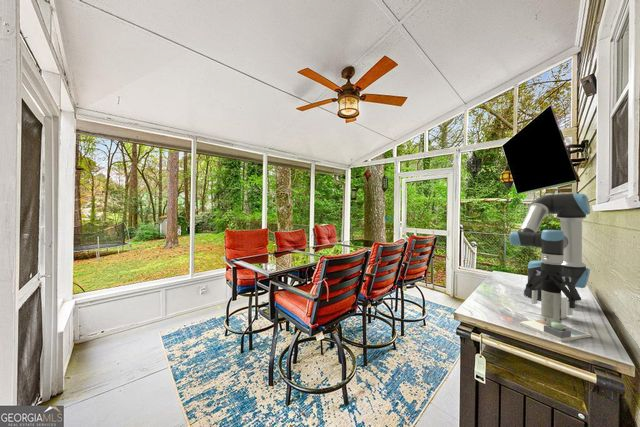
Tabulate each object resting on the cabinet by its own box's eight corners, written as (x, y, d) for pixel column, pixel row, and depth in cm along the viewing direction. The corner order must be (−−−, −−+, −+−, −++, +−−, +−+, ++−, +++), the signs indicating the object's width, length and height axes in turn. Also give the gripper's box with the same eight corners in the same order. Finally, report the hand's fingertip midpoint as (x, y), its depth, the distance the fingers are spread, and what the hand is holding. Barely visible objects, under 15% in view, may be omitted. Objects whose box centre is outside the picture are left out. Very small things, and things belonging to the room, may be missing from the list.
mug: (540, 316, 123) (540, 295, 123) (545, 310, 131) (545, 290, 131) (564, 322, 117) (564, 300, 117) (567, 316, 124) (568, 295, 124)
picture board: (546, 320, 118) (547, 313, 118) (591, 336, 103) (591, 328, 103) (519, 324, 113) (519, 316, 113) (561, 341, 98) (561, 332, 98)
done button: (554, 328, 104) (555, 321, 104) (565, 332, 101) (565, 325, 101) (549, 329, 103) (549, 322, 103) (559, 333, 100) (559, 325, 100)
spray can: (564, 327, 108) (565, 282, 108) (544, 324, 111) (545, 281, 111) (556, 321, 114) (556, 279, 114) (537, 319, 117) (538, 277, 117)
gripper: (517, 258, 124) (516, 300, 123) (581, 269, 100) (580, 321, 99) (528, 258, 126) (527, 299, 125) (593, 268, 101) (592, 319, 101)
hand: (550, 309), depth 112 cm, fingers open, 13 cm apart
